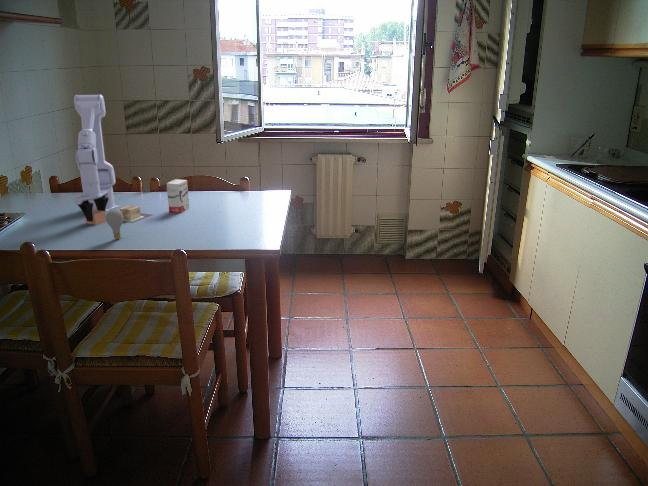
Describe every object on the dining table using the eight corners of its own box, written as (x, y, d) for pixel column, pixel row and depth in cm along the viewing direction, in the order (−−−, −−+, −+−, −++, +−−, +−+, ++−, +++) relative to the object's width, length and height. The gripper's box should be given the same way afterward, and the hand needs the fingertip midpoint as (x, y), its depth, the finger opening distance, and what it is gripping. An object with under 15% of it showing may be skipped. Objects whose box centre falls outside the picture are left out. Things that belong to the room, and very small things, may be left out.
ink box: (180, 214, 207) (177, 184, 204) (168, 213, 208) (165, 183, 205) (190, 208, 215) (187, 179, 212) (178, 207, 216) (176, 178, 213)
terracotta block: (85, 223, 195) (84, 213, 194) (96, 220, 200) (94, 209, 199) (96, 225, 194) (94, 214, 192) (106, 221, 198) (105, 211, 197)
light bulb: (111, 236, 181) (107, 207, 178) (128, 236, 181) (124, 207, 178) (106, 242, 176) (102, 212, 173) (123, 241, 176) (120, 211, 173)
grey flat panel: (102, 219, 201) (102, 219, 200) (125, 211, 211) (125, 211, 211) (132, 223, 195) (132, 223, 195) (154, 215, 206) (154, 214, 206)
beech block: (120, 219, 200) (119, 208, 199) (130, 215, 205) (129, 205, 203) (131, 220, 198) (130, 209, 197) (140, 216, 203) (139, 206, 202)
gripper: (83, 187, 184) (88, 225, 188) (114, 179, 197) (118, 215, 201) (67, 185, 187) (73, 223, 191) (99, 177, 199) (104, 213, 204)
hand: (95, 219), depth 196 cm, fingers closed on terracotta block, 5 cm apart
